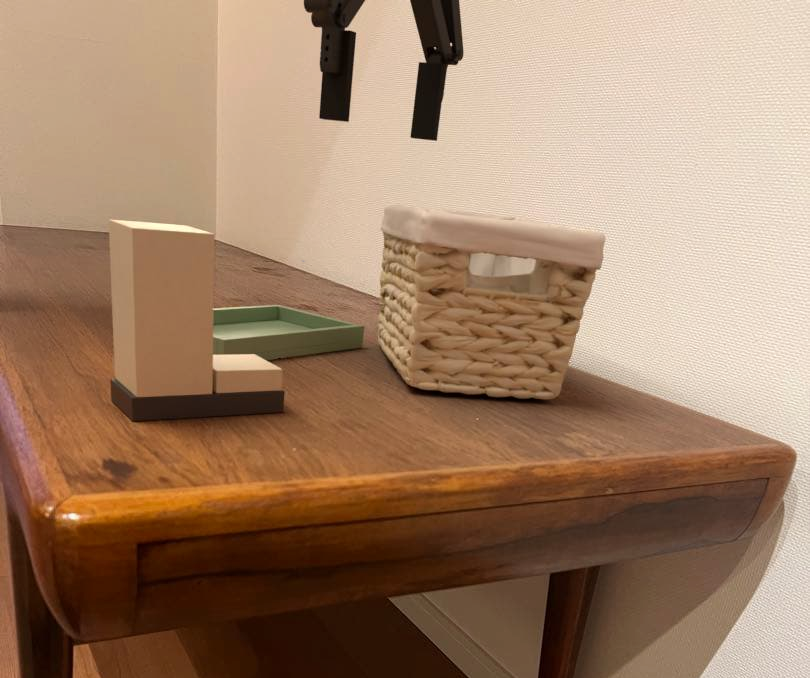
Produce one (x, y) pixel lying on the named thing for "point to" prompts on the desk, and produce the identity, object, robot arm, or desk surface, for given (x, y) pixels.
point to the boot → (176, 331)
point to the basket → (483, 300)
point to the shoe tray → (280, 332)
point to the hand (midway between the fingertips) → (381, 131)
